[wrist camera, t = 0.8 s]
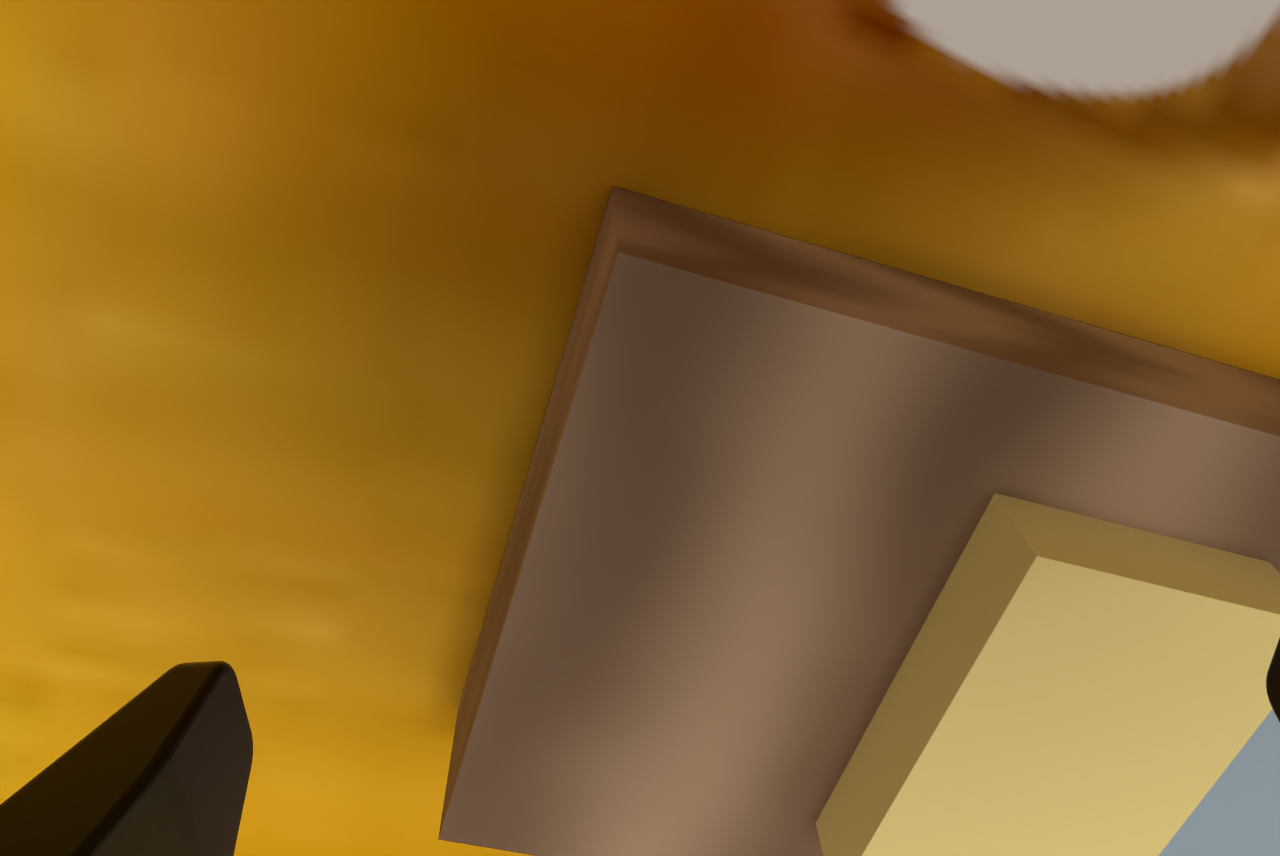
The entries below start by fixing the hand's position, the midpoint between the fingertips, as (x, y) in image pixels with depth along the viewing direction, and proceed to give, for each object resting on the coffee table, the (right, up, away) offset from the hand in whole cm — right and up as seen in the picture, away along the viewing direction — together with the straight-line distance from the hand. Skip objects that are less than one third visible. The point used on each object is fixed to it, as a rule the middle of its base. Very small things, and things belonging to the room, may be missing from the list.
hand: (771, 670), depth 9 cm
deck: (+4, -1, +16) cm, 16 cm away
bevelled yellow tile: (+7, -4, +13) cm, 15 cm away
